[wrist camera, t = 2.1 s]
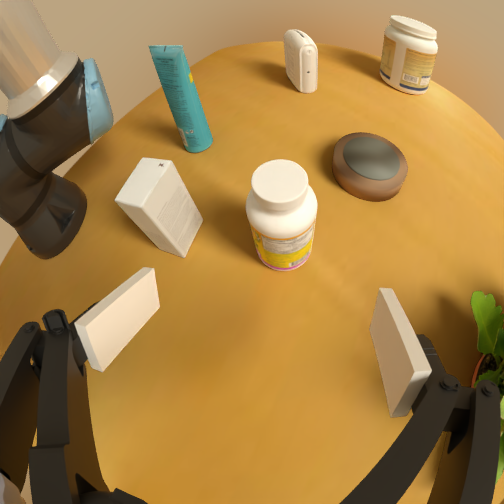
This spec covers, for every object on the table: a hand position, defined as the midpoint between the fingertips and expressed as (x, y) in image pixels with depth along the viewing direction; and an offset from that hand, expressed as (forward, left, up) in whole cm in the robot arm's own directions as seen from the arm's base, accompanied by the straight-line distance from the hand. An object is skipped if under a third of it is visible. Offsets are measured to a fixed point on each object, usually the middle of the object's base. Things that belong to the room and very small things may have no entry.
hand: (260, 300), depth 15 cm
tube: (-33, +3, -16) cm, 37 cm away
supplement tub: (-33, +52, -16) cm, 63 cm away
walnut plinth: (-14, +23, -15) cm, 31 cm away
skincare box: (-17, -5, -16) cm, 24 cm away
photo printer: (-41, +28, -16) cm, 52 cm away
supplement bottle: (-9, +6, -16) cm, 19 cm away
